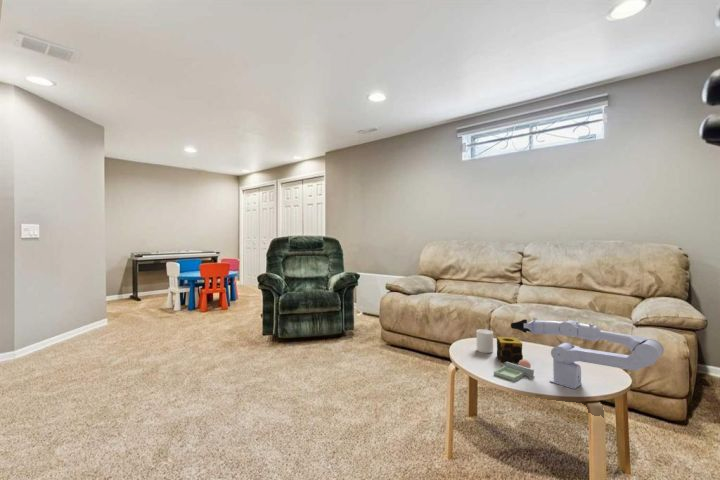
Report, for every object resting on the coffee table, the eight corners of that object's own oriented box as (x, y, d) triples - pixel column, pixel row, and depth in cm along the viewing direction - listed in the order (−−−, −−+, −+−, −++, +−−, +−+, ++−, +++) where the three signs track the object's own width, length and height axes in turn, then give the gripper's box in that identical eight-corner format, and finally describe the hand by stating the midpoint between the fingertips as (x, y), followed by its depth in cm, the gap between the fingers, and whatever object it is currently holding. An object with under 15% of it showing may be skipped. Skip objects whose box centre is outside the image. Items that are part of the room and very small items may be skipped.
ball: (532, 371, 152) (532, 359, 152) (527, 373, 149) (527, 362, 149) (521, 367, 156) (521, 356, 156) (516, 370, 153) (516, 359, 153)
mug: (485, 345, 188) (485, 327, 188) (499, 349, 181) (499, 330, 181) (473, 350, 180) (473, 331, 180) (488, 354, 174) (488, 334, 173)
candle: (523, 364, 160) (523, 343, 160) (500, 363, 162) (500, 342, 162) (517, 357, 170) (517, 337, 170) (496, 355, 172) (496, 336, 172)
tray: (524, 375, 147) (524, 372, 147) (514, 381, 141) (514, 377, 141) (504, 369, 154) (504, 366, 154) (493, 374, 148) (493, 371, 148)
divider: (534, 377, 145) (534, 369, 145) (531, 378, 144) (531, 370, 144) (507, 368, 154) (507, 361, 154) (504, 370, 153) (504, 362, 153)
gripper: (553, 319, 150) (522, 318, 160) (538, 316, 142) (507, 315, 152) (554, 335, 148) (523, 334, 159) (539, 333, 140) (507, 332, 150)
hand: (515, 326), depth 155 cm, fingers open, 7 cm apart
